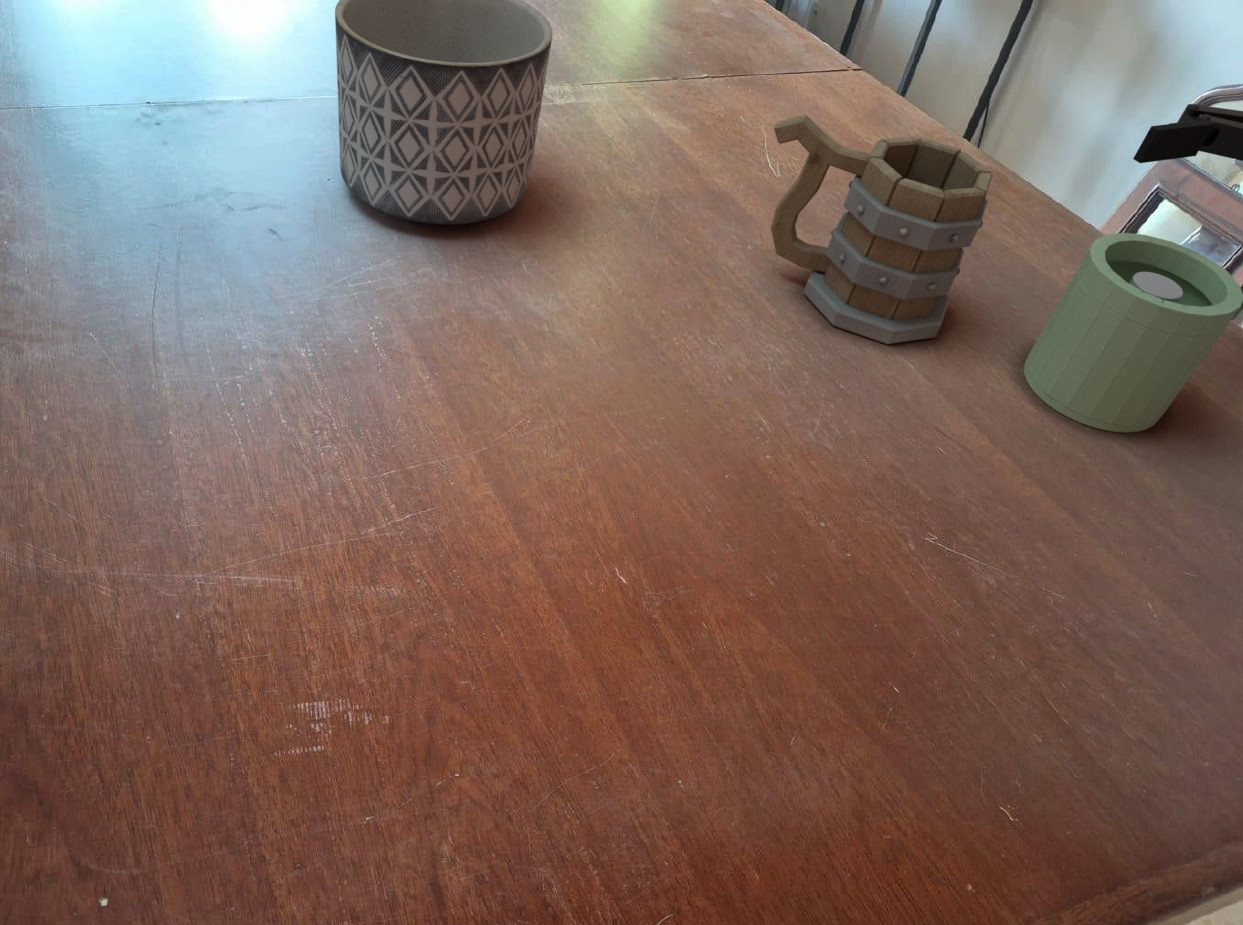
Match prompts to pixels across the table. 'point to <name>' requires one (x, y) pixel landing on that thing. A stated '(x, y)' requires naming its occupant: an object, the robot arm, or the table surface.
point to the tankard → (884, 230)
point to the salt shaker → (1157, 286)
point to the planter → (439, 104)
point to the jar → (1129, 333)
